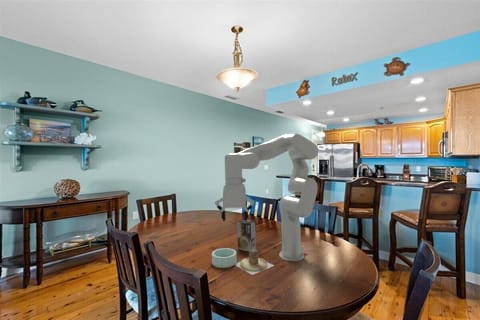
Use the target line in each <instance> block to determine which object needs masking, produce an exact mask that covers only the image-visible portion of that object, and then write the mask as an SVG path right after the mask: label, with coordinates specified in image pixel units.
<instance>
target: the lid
mask: <svg viewBox="0 0 480 320" xmlns="http://www.w3.org/2000/svg"><path fill="white" fill-rule="evenodd" d="M239 262H240V266H241V268H243V269H244V270H247V271H260V270H263V269H265V268H266V267H267V262H268V261H267V260H266V259H264V258H262V257H259V250H257V248H256V249H251V250H249V251H248V257H246V258H243V259H242V260H241V261H239ZM241 268H240V269H241ZM243 269H242V270H243ZM244 270H243V271H244ZM265 270H266V269H265ZM263 271H264V270H263Z"/></svg>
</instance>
